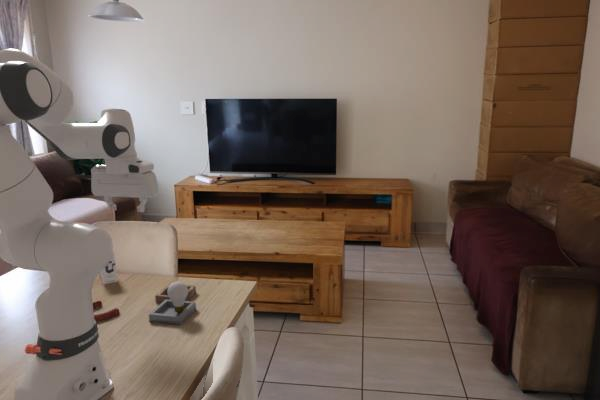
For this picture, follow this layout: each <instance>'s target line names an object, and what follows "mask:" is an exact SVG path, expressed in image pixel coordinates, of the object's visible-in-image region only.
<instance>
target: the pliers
mask: <svg viewBox="0 0 600 400" xmlns="http://www.w3.org/2000/svg"><path fill="white" fill-rule="evenodd" d="M92 303H93V310H96V309H98V308H101V307H102V306H103V301H101V300H96V301H92ZM119 315H120V309H119V308H118V307H117V308H113V309H111V310H108V311H106V312H104V313H99V314H94V319H95V320H96V322H97V323H101V322H104V321H108V320H110V319H113V318H116V317H117V316H119Z"/></svg>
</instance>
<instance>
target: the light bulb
mask: <svg viewBox="0 0 600 400" xmlns="http://www.w3.org/2000/svg"><path fill="white" fill-rule="evenodd" d="M170 284H171V285H170V286H169V287H168V291H167V293H168V296H169V298H170V299H171V300H172V302H173V305H174V308H175V312H177V313H179V314H180V313H181V312H182V311H183V310H184V301H185V298H186V296H187V294H188V288H187V286H186V285H187V284H186V283H185V282H183V281H178V280H176V281H174V282H173V281H172V283H170Z"/></svg>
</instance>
